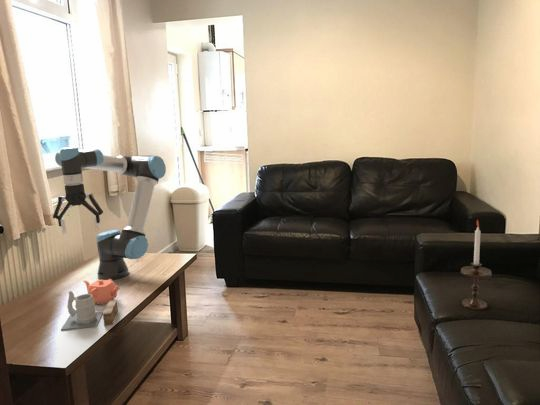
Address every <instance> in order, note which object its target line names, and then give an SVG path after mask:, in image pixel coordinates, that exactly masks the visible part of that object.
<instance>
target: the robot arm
mask: <svg viewBox="0 0 540 405" xmlns="http://www.w3.org/2000/svg"><path fill="white" fill-rule="evenodd" d="M54 159H55V163H56V164H57V165H58V166H59V167H61V172H62V177H63V184H64V191H65V196H63V195H60V196H58V197H57V204H56V207H55V210H54V212H53V215H52V218H53V219H56V220H58V221H57V222H58V226H59V227H61V233H62V235H65V234H66V233H67V229H66V223H65V222H66V221H65V218H63V217H64V215H65V214H66V212H67V211H68V209H69V208H70V207H71V206H73V207H75V206H81V205H82V206H84V207H85V208H86V209H87V210H88V211H89V212H91V214H93V215H94V216H93V220H94V221H93V222H94V228H95V232H98V231H99V230H100V228H99V224H100V222H101V218H100V216H101V215H102V214H103V213H104V210H103V209H102V208H101V206H100V204H98V202H97V201H96V199H95V197H94V194H93V193H89V194H88V193H87V194H86V192H85V191H86V190H85V185H84V183H83V182H84V179H83V178H84V177H83V170H82V169H86V170H97V171H104V172H105V171H106V172H114V173H116V175H117V174H118V175H120V176H121V175H123V176H126V177H132V178H135V180H136V182H137V183H136V187H135V191H134V195H133V198H132V201H131V207H130V210H129V214H128V218H127V221H126V226H125V227H124V228H122V229H121V230H120V229H111V230H108V231H103V232H100V233H98V234H97V236H96V244H97V246H96V248H97V253H98V258H99V265H98V269H97V273H96V274H97V279H98V280H109V279H112V281H113V280H117V279H121V278H124V277H126V276H127V275H129V273H130V272H129V268H128V266H127V263H126V261H125V259H128V260H139V259H140V258H142V257H143V256H145V254H146V253H147V250H148V247H149V243H148V239H147V237H146V233H145V231H144V229H145V226H146V222H147V216H148V213H149V208H150V206H151V200H152V197H153V193H154V189H155V188H154V187H155V186H156V185H157V184H159V180H160V179H162V178H163V177H165V175H166V173H167V172H166V171H167V169H166V168H167V167H166V163H165V161H164V159H163V158H162V157H161V156H159V155H152V154H150V155H128V156H126V155H125V156H124V155H118V156H110V155H104V154H103V152H102V151H101V150H100V149H99V148H98V149H97V148H91V149H79V148H78V147H77V146H76V147H75V146H69V147H62V148H60V149H59V151H57V152H56V154H55V157H54ZM86 199H88V200H89V201H90V203H91V204H92V205H93V206H92V205H91V204H89V203H88V201H86ZM64 201H67V204H66V205H65V206H64V207H63V209H62V211H61V212H60V210H61V208H62V205H63V202H64Z"/></svg>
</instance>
